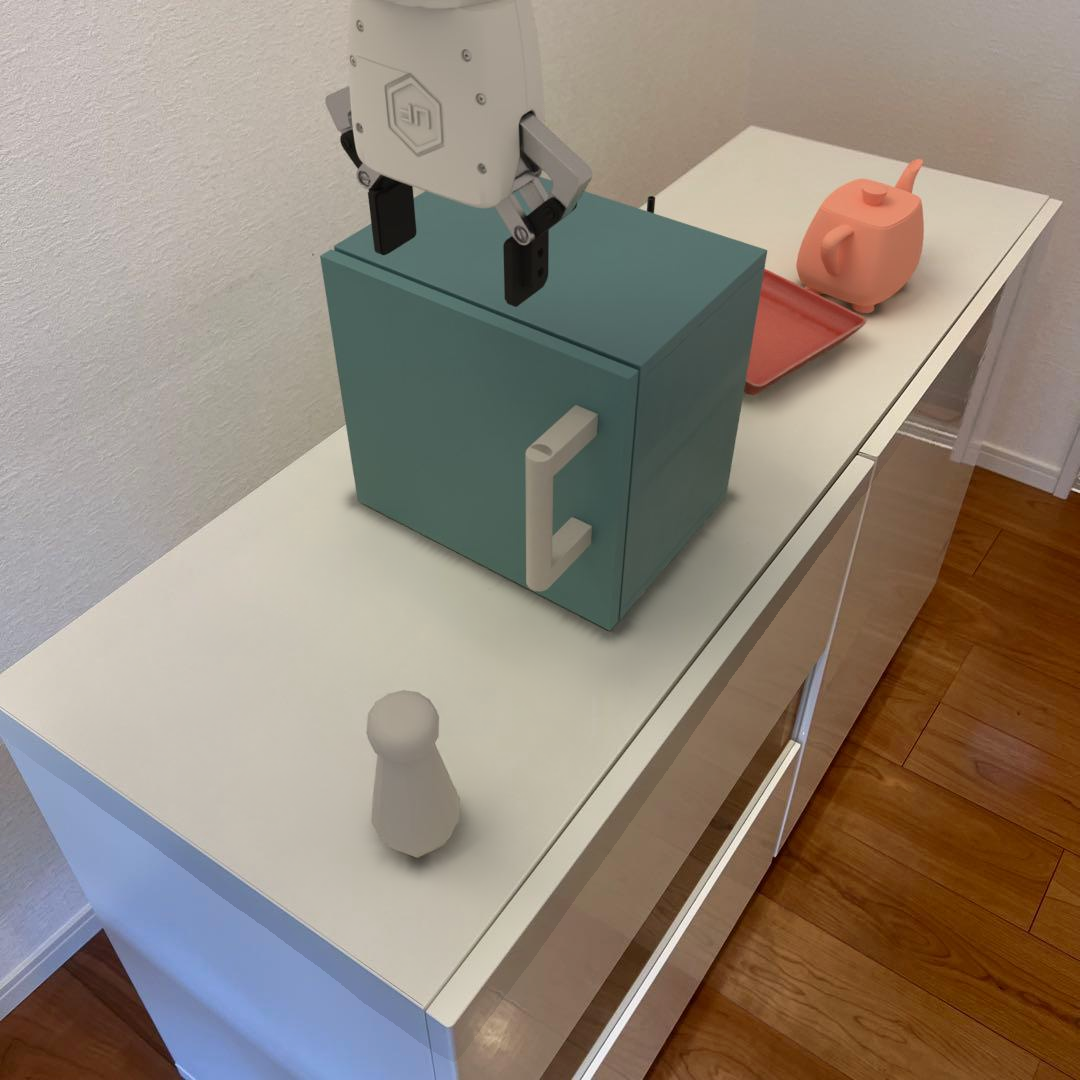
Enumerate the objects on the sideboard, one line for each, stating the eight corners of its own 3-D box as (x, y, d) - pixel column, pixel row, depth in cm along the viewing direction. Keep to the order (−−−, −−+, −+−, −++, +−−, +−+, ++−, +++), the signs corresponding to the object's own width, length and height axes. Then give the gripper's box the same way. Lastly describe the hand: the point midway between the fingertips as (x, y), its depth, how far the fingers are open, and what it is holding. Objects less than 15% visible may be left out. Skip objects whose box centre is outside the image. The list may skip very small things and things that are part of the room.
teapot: (860, 341, 114) (886, 238, 105) (763, 302, 119) (780, 200, 111) (942, 267, 125) (972, 167, 116) (850, 234, 130) (872, 137, 122)
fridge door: (564, 684, 81) (572, 431, 64) (306, 542, 91) (255, 294, 75) (618, 621, 85) (639, 370, 68) (366, 493, 96) (330, 248, 79)
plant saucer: (732, 278, 123) (736, 252, 120) (864, 345, 113) (871, 318, 111) (621, 338, 114) (623, 311, 112) (753, 416, 104) (758, 388, 102)
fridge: (619, 621, 85) (641, 366, 68) (368, 493, 96) (332, 245, 79) (726, 497, 96) (768, 249, 79) (489, 394, 107) (481, 157, 90)
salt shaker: (427, 777, 75) (412, 657, 66) (479, 832, 72) (471, 715, 63) (357, 826, 72) (332, 709, 63) (408, 886, 69) (389, 771, 60)
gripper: (255, -62, 53) (307, 252, 65) (543, 9, 46) (542, 348, 58) (358, -97, 57) (389, 204, 69) (636, -37, 50) (617, 287, 62)
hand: (459, 269), depth 63 cm, fingers open, 9 cm apart
